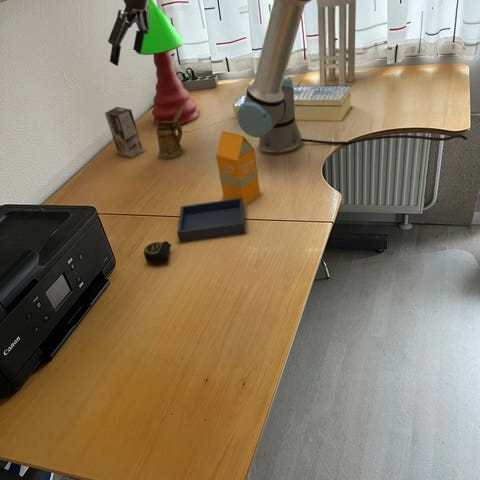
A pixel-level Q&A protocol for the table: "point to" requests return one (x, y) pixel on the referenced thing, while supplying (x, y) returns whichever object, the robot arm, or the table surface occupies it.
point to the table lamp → (166, 70)
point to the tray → (211, 220)
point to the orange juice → (237, 168)
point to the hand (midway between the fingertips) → (125, 57)
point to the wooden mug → (170, 137)
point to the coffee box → (124, 131)
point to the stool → (330, 2)
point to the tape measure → (157, 252)
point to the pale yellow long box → (316, 102)
